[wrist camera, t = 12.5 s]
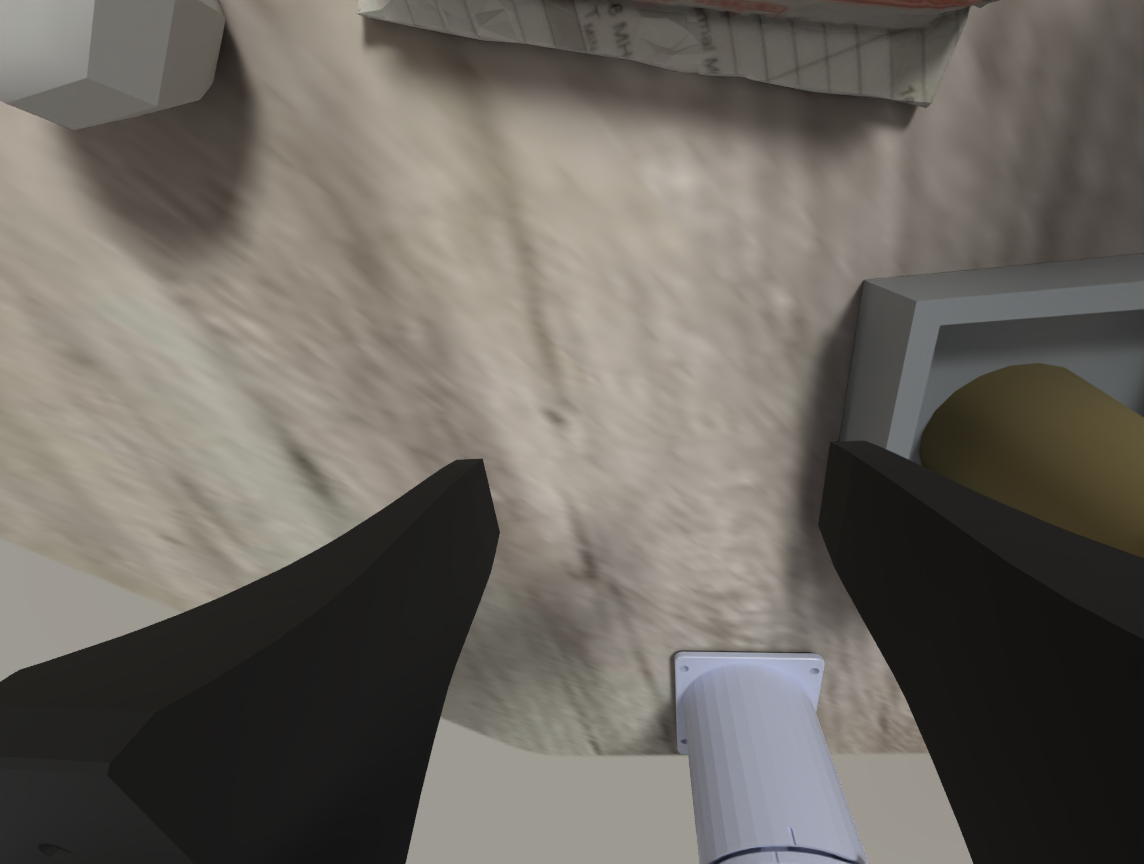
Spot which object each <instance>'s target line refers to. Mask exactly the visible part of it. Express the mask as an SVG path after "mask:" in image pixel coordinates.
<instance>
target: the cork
mask: <svg viewBox="0 0 1144 864" xmlns="http://www.w3.org/2000/svg"><path fill="white" fill-rule="evenodd" d="M919 454H920V459H921V463H922V466H923V467H925V468H927V469H929V470H931V471H933V472H935V473H938V474H940V475H942V476H944V477H946V478H948V479H950V480H952V481H954V482H957V483H959V484H961V485H963V486H965V487H967V488H969V489H972V490H974V491H976V492H978V493H980V494H982V495H985V496H987V497H989V498H991V499H994V500H996V501H998V502H1000V503H1003V504H1005V505H1007V506H1010V507H1012V508H1014V509H1017V510H1019V511H1022V512H1024V513H1026V514H1029V515H1031V516H1033V517H1036V518H1038V519H1040V520H1043V521H1045V522H1048V523H1050V524H1053V525H1055V526H1058V527H1060V528H1063V529H1065V530H1068V531H1070V532H1073V533H1076V534H1078V535H1081V536H1084V537H1086V538H1089V539H1092V540H1095V541H1097V542H1100V543H1103V544H1106V545H1109V546H1111V547H1114V548H1117V549H1120V550H1122V551H1125V552H1128V553H1131V554H1133V555H1136V556H1139V557H1142V558H1144V417H1142V416H1141V415H1139V414H1137V413H1136V412H1134V411H1133V410H1131V409H1130V408H1128V407H1127V406H1125V405H1123V404H1122V403H1120V402H1119V401H1117V400H1116V399H1114V398H1112V397H1111V396H1109V395H1108V394H1106V393H1105V392H1103V391H1101V390H1100V389H1098V388H1097V387H1095V386H1094V385H1092V384H1090V383H1089V382H1087V381H1086V380H1084V379H1083V378H1081V377H1079V376H1078V375H1076V374H1074V373H1073V372H1071V371H1070V370H1068V369H1066V368H1064V367H1059V366H1054V365H1048V364H1043V363H1032V364H1021V365H1011V366H1007V367H1004V368H1001V369H999V370H996V371H993V372H990V373H987V374H984V375H981V376H979V377H978V378H976V379H974V380H973V381H971V382H969V383H968V384H966V385H964V386H963V387H961V388H960V389H958V390H956V391H955V392H954V393H953V394H952V395H951V396H950V397H949V398H948V399H947V400H946V401H945V402H944V403H943V404H941V405H940V406H939V407H938V408H937V409H936V410H935V412H934V414H933V415H932V417H931V419H930V420H929V422H928V424H927V426H926V427H925V429H924V431H923V434H922V439H921V444H920V449H919Z"/></svg>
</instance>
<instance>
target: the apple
mask: <svg viewBox="0 0 1144 864" xmlns="http://www.w3.org/2000/svg"><path fill="white" fill-rule="evenodd" d="M225 20H226V18H225V16H224V14H223V11H222V9H221V6H220V4H219V2H218V0H0V100H1V101H3V102H4V103H6V104H8V105H11V106H14V107H16V108H19V109H21V110H24V111H26V112H29V113H31V114H34V115H36V116H39V117H41V118H44V119H46V120H49V121H51V122H54V123H57V124H59V125H62V126H64V127H67V128H69V129H72V130H77V129H82V128H87V127H92V126H96V125H101V124H106V123H110V122H115V121H120V120H124V119H129V118H134V117H138V116H142V115H145V114H149V113H153V112H157V111H160V110H164V109H168V108H172V107H176V106H179V105H183V104H187V103H191V102H195V101H198V100H200V99H201V98H202V97H203V95H204V94H205V93H206V92H207V90H208V89H209V88H210V86H211V85H212V84H213V81H214V76H215V71H216V66H217V61H218V56H219V51H220V46H221V41H222V36H223V31H224V25H225Z"/></svg>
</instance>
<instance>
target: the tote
mask: <svg viewBox="0 0 1144 864" xmlns="http://www.w3.org/2000/svg"><path fill="white" fill-rule="evenodd" d="M1032 363H1043V364H1048V365H1054V366H1059V367H1064V368H1066V369H1068V370H1070V371H1071V372H1073V373H1074V374H1076V375H1078V376H1079V377H1081V378H1083V379H1084V380H1086V381H1087V382H1089V383H1090V384H1092V385H1094V386H1095V387H1097V388H1098V389H1100V390H1101V391H1103V392H1105V393H1106V394H1108V395H1109V396H1111V397H1112V398H1114V399H1116V400H1117V401H1119V402H1120V403H1122V404H1123V405H1125V406H1127V407H1128V408H1130V409H1131V410H1133V411H1134V412H1136V413H1137V414H1139V415H1141V416H1142V417H1144V254H1133V255H1123V256H1112V257H1102V258H1091V259H1081V260H1070V261H1060V262H1049V263H1039V264H1028V265H1017V266H1007V267H996V268H986V269H975V270H965V271H954V272H944V273H933V274H923V275H912V276H902V277H891V278H881V279H870V280H864V283H863V289H862V296H861V302H860V309H859V315H858V322H857V328H856V335H855V341H854V347H853V354H852V360H851V367H850V373H849V380H848V386H847V393H846V399H845V406H844V412H843V419H842V425H841V432H840V438H839V442H840V441H861V440H864V441H867V442H870V443H873V444H875V445H878V446H880V447H882V448H885V449H887V450H889V451H891V452H893V453H896V454H898V455H900V456H902V457H904V458H906V459H908V460H910V461H913V462H915V463H917V464H919V465H921V466H922V463H921V459H920V454H919V449H920V444H921V439H922V434H923V431H924V429H925V427H926V426H927V424H928V422H929V420H930V419H931V417H932V415H933V414H934V412H935V410H936V409H937V408H938V407H939V406H940V405H941V404H943V403H944V402H945V401H946V400H947V399H948V398H949V397H950V396H951V395H952V394H953V393H954V392H955V391H956V390H958V389H960V388H961V387H963V386H964V385H966V384H968V383H969V382H971V381H973V380H974V379H976V378H978V377H979V376H981V375H984V374H987V373H990V372H993V371H996V370H999V369H1001V368H1004V367H1007V366H1011V365H1021V364H1032Z"/></svg>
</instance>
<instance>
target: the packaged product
mask: <svg viewBox="0 0 1144 864" xmlns="http://www.w3.org/2000/svg"><path fill="white" fill-rule="evenodd" d="M995 1H999V0H358V13H356V14H359V15H362V16H365V17H368V18H372V19H377V20H383V21H388V22H392V23H397V24H402V25H407V26H412V27H417V28H421V29H426V30H432V31H437V32H442V33H447V34H452V35H458V36H463V37H468V38H473V39H478V40H484V41H497V42H512V43H523V44H529V45H536V46H542V47H548V48H555V49H561V50H567V51H573V52H580V53H586V54H592V55H599V56H605V57H611V58H619V59H626V60H632V61H636V62H640V63H644V64H648V65H652V66H656V67H660V68H664V69H668V70H672V71H678V72H686V73H698V74H700V75H705V76H731V77H746V78H748V79H750V80H755V81H760V82H765V83H770V84H775V85H780V86H785V87H791V88H796V89H801V90H806V91H811V92H819V93H830V94H841V95H852V96H863V97H874V98H886V99H891V100H895V101H899V102H903V103H908V104H912V105H916V106H920V107H924V108H926V107H927V106H929V105H930V104H931V103H932V101H933V98H934V94H935V91H936V89H937V87H938V84H939V82H940V80H941V78H942V75H943V73H944V71H945V69H946V66H947V64H948V62H949V60H950V57H951V55H952V53H953V51H954V48H955V46H956V44H957V41H958V39H959V37H960V35H961V32H962V30H963V27H964V25H965V22H966V20H967V18H968V13H969V11H970V8H971V6H972V5H974V6H976V7H979V8H981V7H983V6H984V5H986V4H988V3H991V2H995Z"/></svg>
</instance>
